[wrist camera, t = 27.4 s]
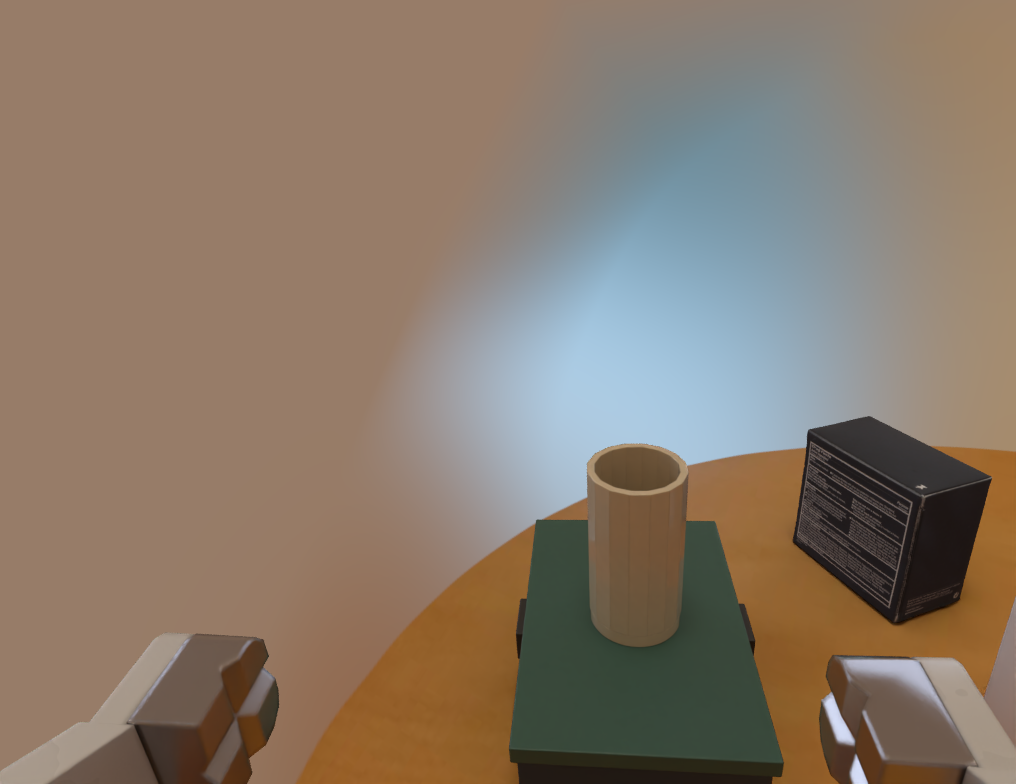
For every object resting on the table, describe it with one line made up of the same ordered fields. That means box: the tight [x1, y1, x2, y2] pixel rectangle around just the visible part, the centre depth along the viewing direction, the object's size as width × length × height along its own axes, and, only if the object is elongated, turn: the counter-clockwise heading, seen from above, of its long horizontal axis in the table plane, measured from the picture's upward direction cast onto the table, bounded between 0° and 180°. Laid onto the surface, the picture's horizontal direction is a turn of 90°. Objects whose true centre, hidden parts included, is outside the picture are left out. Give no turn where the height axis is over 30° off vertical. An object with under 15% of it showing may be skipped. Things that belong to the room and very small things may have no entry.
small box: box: [793, 416, 992, 622], centre depth 50 cm, size 11×6×10 cm, turn 19°
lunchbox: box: [509, 520, 784, 784], centre depth 41 cm, size 19×14×7 cm
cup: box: [587, 444, 688, 647], centre depth 38 cm, size 5×5×10 cm
